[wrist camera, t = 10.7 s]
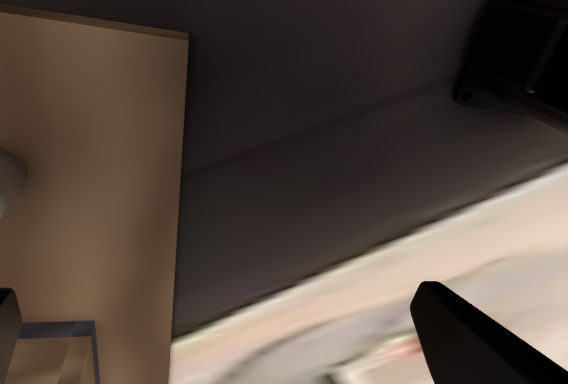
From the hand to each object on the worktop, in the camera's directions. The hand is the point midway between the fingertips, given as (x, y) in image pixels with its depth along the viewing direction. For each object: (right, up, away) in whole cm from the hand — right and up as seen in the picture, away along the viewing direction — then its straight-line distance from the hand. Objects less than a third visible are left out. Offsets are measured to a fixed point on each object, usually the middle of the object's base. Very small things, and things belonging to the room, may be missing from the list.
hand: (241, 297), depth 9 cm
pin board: (-12, -1, +11) cm, 16 cm away
